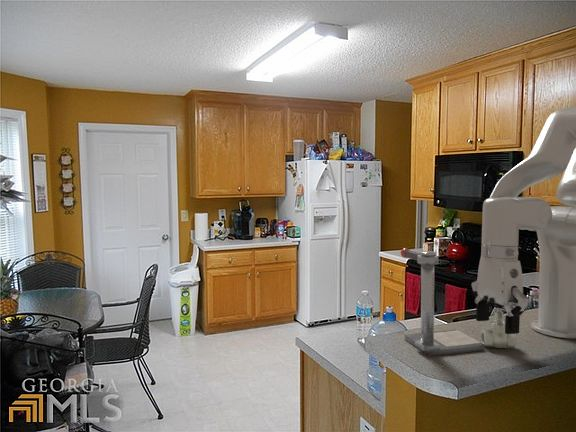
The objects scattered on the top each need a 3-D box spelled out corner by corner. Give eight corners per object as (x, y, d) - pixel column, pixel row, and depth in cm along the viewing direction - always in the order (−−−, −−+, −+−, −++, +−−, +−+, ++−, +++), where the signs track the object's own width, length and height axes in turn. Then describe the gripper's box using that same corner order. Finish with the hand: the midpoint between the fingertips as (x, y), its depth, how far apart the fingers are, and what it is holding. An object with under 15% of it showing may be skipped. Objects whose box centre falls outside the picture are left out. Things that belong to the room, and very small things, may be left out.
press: (455, 334, 111) (456, 244, 110) (484, 349, 101) (486, 250, 99) (401, 339, 108) (401, 247, 106) (425, 356, 97) (425, 254, 96)
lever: (442, 266, 97) (442, 255, 97) (424, 267, 96) (424, 256, 96) (411, 256, 110) (411, 247, 110) (395, 257, 109) (395, 248, 109)
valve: (518, 353, 98) (519, 300, 97) (486, 351, 100) (487, 299, 99) (509, 343, 105) (510, 293, 104) (479, 341, 106) (480, 292, 105)
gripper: (543, 257, 93) (539, 337, 94) (488, 247, 110) (485, 315, 111) (512, 258, 91) (509, 340, 92) (461, 247, 108) (459, 317, 109)
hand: (496, 326), depth 101 cm, fingers open, 9 cm apart
